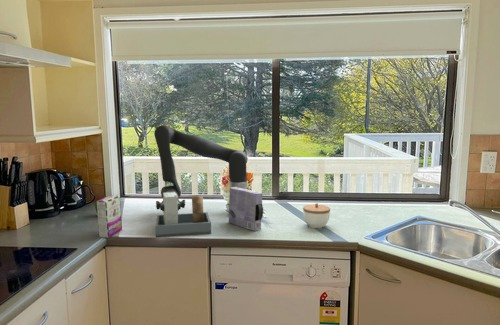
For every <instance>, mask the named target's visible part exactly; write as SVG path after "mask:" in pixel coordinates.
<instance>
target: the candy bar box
mask: <svg viewBox="0 0 500 325" xmlns="http://www.w3.org/2000/svg"><path fill="white" fill-rule="evenodd" d="M105 197H106V198H104V197H103V198H101V199H98V200H96V201H95V203H96V202H97V212H96V214H97V224H98V225H97V227H98V235H99V236H98V237H99V238H101V239H103V238H105V239H109V238H111V237H113V236H115V235H117V234H118V233H120V232H121V231H122V230H123V224H122V223H123V219H122V205H121V195H116V194H115V195H114V194H112V195H109V196H108V197H107V196H105Z"/></svg>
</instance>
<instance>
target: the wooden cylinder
mask: <svg viewBox="0 0 500 325" xmlns="http://www.w3.org/2000/svg"><path fill="white" fill-rule="evenodd" d="M191 205H192V206H191V208H192V212H191V213H193V223H202V222H204V217H203V213H204V197H203V195H200V194H199V195H198V194H197V195H196V194H195V195H192V196H191Z"/></svg>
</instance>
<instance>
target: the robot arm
mask: <svg viewBox="0 0 500 325" xmlns="http://www.w3.org/2000/svg"><path fill="white" fill-rule="evenodd" d="M153 136H154V138H155V142H156V146H157V149H158V154H159V158H160V167H161V176H162V180H163V181H164V182H165V183H166V182H167V183H172V185H166V186H163V187H162V188H161V190H160V195H161V198H162V199H163V193H170V192H175V193H176V194H177V196H178V211H179V210H181V208H182V209H185V206H186V200H185V199H182V200H180V199H179V198H180V197H181V195H182V190H181V187H180V186H179V183H178V179H177V175H176V167H175V161H174V158H173V156H172V152H171V144H172V145H174V146H175V145H176V146H179V147H181V148H184V149H185V150H187V151H188V152H191V153H193V154H195V155H197V156H201V157H204V158H208V159H216V160H220V161H224V162H226V163H228V177H229V189H230V188H231V187H238V188H242V189H247V190H248V176H247V164H248V156H247V154H246V152H244V151H242V150H238V149H233V148H229V147H225V146H223V145H221V144H218V143H217V142H214V141H211V140H209V139H206V138H203V137H200V136H197V135H192V134H188V133H184V132H182V131H180V130H177V129H175V128H173V127H171V126H169V125H162V124H161V125H158V126H157V127H156V128H155V130H154V134H153ZM155 207H156V208H155V209H156V210H160V211H162V212H163V211H164V205H163V200H162V201H158V200H157V201H155Z"/></svg>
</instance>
